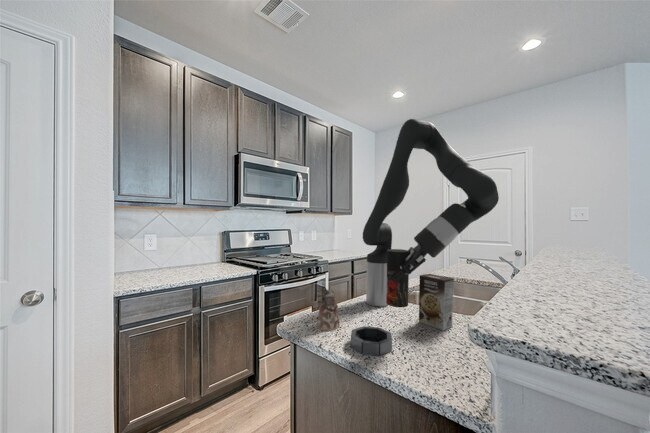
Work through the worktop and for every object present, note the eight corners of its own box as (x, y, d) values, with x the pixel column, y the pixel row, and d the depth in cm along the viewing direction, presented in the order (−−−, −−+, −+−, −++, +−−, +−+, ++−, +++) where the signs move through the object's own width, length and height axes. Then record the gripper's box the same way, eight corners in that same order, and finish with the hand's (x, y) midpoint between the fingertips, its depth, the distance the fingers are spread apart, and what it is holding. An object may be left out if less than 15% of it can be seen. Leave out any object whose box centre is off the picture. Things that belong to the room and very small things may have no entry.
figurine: (322, 332, 87) (323, 293, 87) (313, 324, 93) (314, 288, 93) (343, 328, 90) (343, 291, 90) (332, 320, 96) (333, 285, 96)
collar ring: (352, 335, 84) (353, 325, 84) (390, 338, 82) (390, 328, 82) (349, 352, 74) (349, 341, 74) (392, 357, 72) (392, 345, 72)
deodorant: (412, 306, 77) (413, 251, 76) (393, 308, 75) (394, 252, 75) (400, 299, 82) (401, 248, 82) (382, 301, 80) (383, 249, 80)
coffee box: (417, 322, 95) (418, 275, 95) (428, 318, 99) (428, 272, 100) (443, 331, 88) (444, 280, 88) (453, 326, 92) (454, 277, 92)
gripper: (421, 225, 84) (380, 263, 86) (431, 228, 70) (382, 273, 72) (439, 243, 83) (398, 281, 85) (453, 249, 69) (403, 295, 71)
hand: (391, 277), depth 79 cm, fingers closed on deodorant, 6 cm apart
